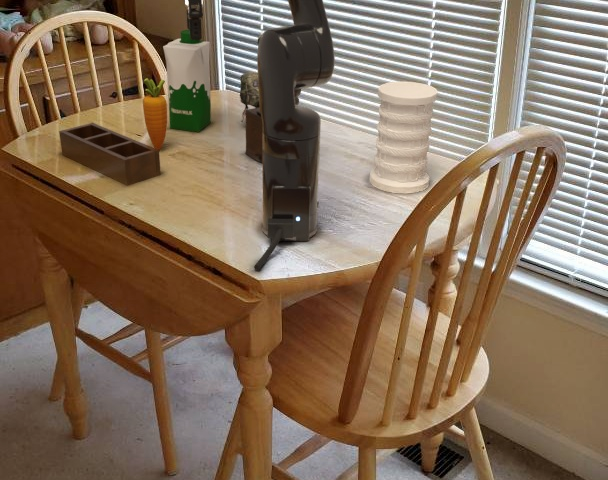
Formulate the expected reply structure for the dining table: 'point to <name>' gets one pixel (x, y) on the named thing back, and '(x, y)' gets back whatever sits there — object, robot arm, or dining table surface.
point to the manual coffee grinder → (258, 131)
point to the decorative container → (403, 137)
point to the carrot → (155, 113)
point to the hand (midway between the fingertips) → (194, 34)
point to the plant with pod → (249, 89)
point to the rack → (110, 153)
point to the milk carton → (188, 83)
